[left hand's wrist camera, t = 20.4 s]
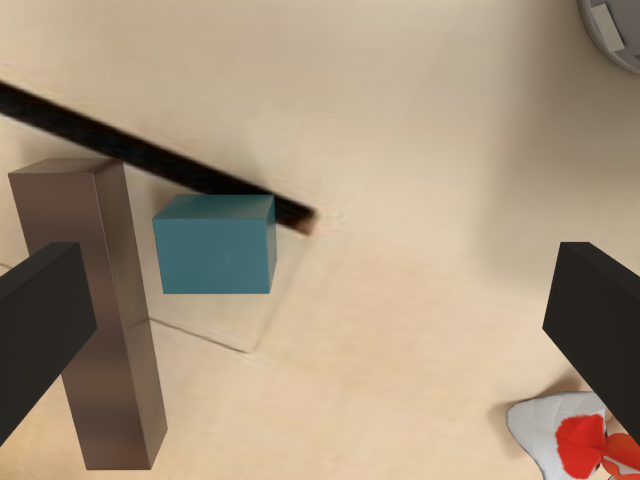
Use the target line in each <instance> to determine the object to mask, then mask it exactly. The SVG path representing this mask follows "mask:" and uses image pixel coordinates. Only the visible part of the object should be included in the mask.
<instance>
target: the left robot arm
mask: <svg viewBox="0 0 640 480" xmlns="http://www.w3.org/2000/svg"><path fill="white" fill-rule="evenodd" d="M578 3H579V9H580V13H581V17H582V20H583V23H584V25H585V28H586V30H587V32H588V34H589V36H590V38H591V39H592V41H593V42H594V44H595V45H596V47H597V48H598V49H599V50H600V51H601V52H602V54H604V55H605V56H606V57H607V58H608V59H609V60H610V61H612V62H613V63H615V64H616V65H618V66H620V67H622V68H624V69H626V70H628V71H631V72H634V73H637V74H640V0H578ZM97 329H98V327H97V322H96V318H95V313H94V308H93V304H92V299H91V294H90V290H89V285H88V280H87V276H86V271H85V266H84V262H83V257H82V252H81V248H80V243H79V242H50V243H49V244H48V245H46V246H45V247H43V248H42V249H40V250H39V251H37V252H36V253H34V254H33V255H31V256H30V257H29V258H27V259H26V260H24V261H23V262H21V263H20V264H18V265H17V266H15V267H14V268H12V269H11V270H9V271H8V272H7V273H5V274H4V275H2V276H1V277H0V447H1V446H2V444H3V443H4V442H5V441H6V439H7V438H8V437H9V436H10V435H11V433H12V432H13V431H14V430H15V429H16V427H17V426H18V425H19V424H20V422H21V421H22V420H23V419H24V418H25V416H26V415H27V414H28V413H29V412H30V410H31V409H32V408H33V407H34V405H35V404H36V403H37V402H38V401H39V399H40V398H41V397H42V396H43V394H44V393H45V392H46V391H47V390H48V388H49V387H50V386H51V385H52V384H53V382H54V381H55V380H56V379H57V377H58V376H59V375H60V374H61V373H62V371H63V370H64V369H65V368H66V367H67V365H68V364H69V363H70V362H71V360H72V359H73V358H74V357H75V356H76V354H77V353H78V352H79V351H80V350H81V348H82V347H83V346H84V345H85V343H86V342H87V341H88V340H89V339H90V337H91V336H92V335H93V334H94V332H95V331H96V330H97ZM542 329H543V330H544V331H545V332H546V334H547V335H548V336H549V337H550V339H551V340H552V341H553V342H554V343H555V345H556V346H557V347H558V348H559V350H560V351H561V352H562V353H563V354H564V356H565V357H566V358H567V359H568V360H569V362H570V363H571V364H572V365H573V367H574V368H575V369H576V370H577V371H578V373H579V374H580V375H581V376H582V377H583V379H584V380H585V381H586V382H587V384H588V385H589V386H590V387H591V388H592V390H593V391H594V392H595V393H596V394H597V396H598V397H599V398H600V399H601V401H602V402H603V403H604V404H605V405H606V407H607V408H608V409H609V410H610V412H611V413H612V414H613V415H614V416H615V418H616V419H617V420H618V421H619V422H620V424H621V425H622V426H623V427H624V429H625V430H626V431H627V432H628V433H629V435H630V436H631V437H632V438H633V439H634V441H635V442H636V443H637V444H638V446H639V447H640V277H639V276H638V275H636V274H635V273H633V272H632V271H631V270H629V269H628V268H626V267H625V266H623V265H622V264H620V263H619V262H617V261H616V260H614V259H613V258H611V257H610V256H609V255H607V254H606V253H604V252H603V251H601V250H600V249H598V248H597V247H595V246H594V245H592V244H591V243H590V242H561V243H560V248H559V252H558V257H557V262H556V266H555V271H554V276H553V280H552V285H551V290H550V294H549V299H548V304H547V308H546V313H545V318H544V322H543V327H542Z"/></svg>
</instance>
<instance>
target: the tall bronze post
mask: <svg viewBox="0 0 640 480" xmlns="http://www.w3.org/2000/svg"><path fill="white" fill-rule="evenodd" d="M8 177H9V181H10V185H11V188H12V192H13V196H14V200H15V203H16V207H17V211H18V215H19V218H20V222H21V226H22V230H23V233H24V237H25V241H26V245H27V248H28V252H29V256H31V255H33V254H34V253H36V252H37V251H39V250H40V249H42V248H43V247H45V246H46V245H48V244H49V243H50V242H79V243H80V248H81V252H82V257H83V262H84V266H85V271H86V276H87V280H88V285H89V290H90V294H91V299H92V304H93V308H94V313H95V318H96V322H97V327H98V329H97V330H96V331H95V332H94V334H93V335H92V336H91V337H90V339H89V340H88V341H87V342H86V343H85V345H84V346H83V347H82V348H81V350H80V351H79V352H78V353H77V354H76V356H75V357H74V358H73V359H72V360H71V362H70V363H69V364H68V365H67V367H66V368H65V369H64V370H63V371H62V373H61V376H62V380H63V383H64V387H65V391H66V395H67V398H68V402H69V406H70V410H71V413H72V417H73V421H74V425H75V428H76V432H77V436H78V440H79V443H80V447H81V451H82V455H83V458H84V462H85V466H86V470H151V468H152V466H153V464H154V461H155V459H156V456H157V454H158V451H159V449H160V447H161V444H162V442H163V439H164V437H165V434H166V432H167V423H166V417H165V411H164V405H163V399H162V393H161V387H160V382H159V376H158V370H157V364H156V358H155V352H154V346H153V340H152V334H151V328H150V322H149V316H148V311H147V305H146V299H145V293H144V287H143V281H142V275H141V269H140V263H139V257H138V251H137V245H136V240H135V234H134V228H133V222H132V216H131V210H130V204H129V198H128V192H127V186H126V180H125V174H124V169H123V163H122V159H121V158H120V159H46V160H43V161H40V162H38V163H35V164H32V165H30V166H27V167H24V168H21V169H19V170H16V171H13V172H10V173H8Z"/></svg>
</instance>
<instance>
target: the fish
mask: <svg viewBox="0 0 640 480" xmlns="http://www.w3.org/2000/svg"><path fill="white" fill-rule="evenodd" d="M605 408H607V407H606V405H605V404H604V403H603V402H602V401H601V399H600V398H599V397H598V396H597V394H596V393H595V392H580V391H567V392H562V393H557V394H552V395H548V396H544V397H540V398H536V399H531V400H526V401H523V402H520V403H517V404H515V405H514V406H512V407H511V408H510V409H509V410H508V411H507V412H506V425H507V427H508V429H509V431H510V433H511V434H512V435H513V437H514V438H515V440H516V441H517V442H518V443H519V445H520V446H521V447H522V448H523V449H524V450H525V451H526V452H527V453H528V454H529V455H530V456H531V457H532V458H533V460H534V461H535V462H536V464H537V465H538V466H539V468H540V471H541V473H542V475H543V479H544V480H589V479H590V477H591V476H592V475H593V474H594V473H595V471H596V470H597V469H598V468H599V466H600V463H602V465H603V467H604V469H605V470H606V471H607V472H608V473H609V474H611V475H612V476H611V477H610V478H609V479H608V480H640V447H639V446H638V444H637V443H636V442H635V441H634V439H633V438H632V437H631V436H630V435H628V434H629V433H628V434H624V433H615V434H612V435H610V436H607V430H606V424H605Z"/></svg>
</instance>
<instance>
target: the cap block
mask: <svg viewBox="0 0 640 480" xmlns="http://www.w3.org/2000/svg"><path fill="white" fill-rule="evenodd" d="M152 220H153V226H154V233H155V240H156V247H157V253H158V260H159V267H160V274H161V280H162V287H163V293H164V294H269V293H270V290H271V285H272V280H273V275H274V271H275V266H276V261H277V254H276V230H275V206H274V195H177V196H176V197H175V198H174V199H173V200H172V201H170V202H169V203H168V204H167V205H166V206H165V207H164V208H163V209H162V210H161V211H160V212H159V213H158V214H157V215H156V216H155V217H154V218H153V219H152Z"/></svg>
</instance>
